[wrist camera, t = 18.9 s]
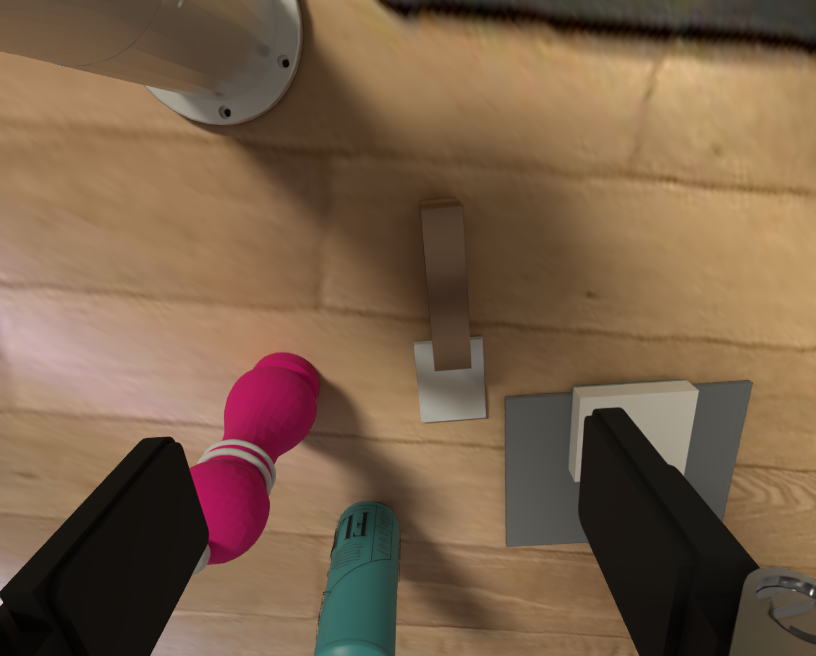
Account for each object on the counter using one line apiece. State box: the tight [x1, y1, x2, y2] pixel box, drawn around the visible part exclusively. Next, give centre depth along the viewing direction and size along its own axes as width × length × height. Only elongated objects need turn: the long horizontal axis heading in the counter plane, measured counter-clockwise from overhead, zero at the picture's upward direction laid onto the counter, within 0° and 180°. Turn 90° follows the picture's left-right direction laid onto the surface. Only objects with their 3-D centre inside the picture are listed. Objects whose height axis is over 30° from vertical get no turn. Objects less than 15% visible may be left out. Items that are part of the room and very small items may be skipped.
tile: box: [568, 380, 699, 482], centre depth 42 cm, size 2×10×9 cm
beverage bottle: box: [314, 502, 401, 656], centre depth 38 cm, size 6×7×20 cm
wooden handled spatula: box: [414, 197, 486, 423], centre depth 36 cm, size 20×6×6 cm, turn 6°
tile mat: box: [505, 380, 753, 547], centre depth 45 cm, size 18×22×1 cm
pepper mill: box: [189, 353, 320, 575], centre depth 32 cm, size 7×7×20 cm
